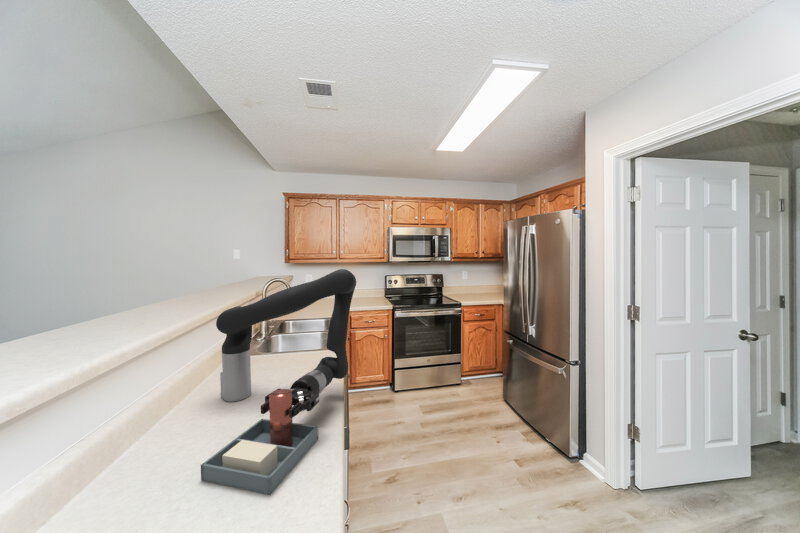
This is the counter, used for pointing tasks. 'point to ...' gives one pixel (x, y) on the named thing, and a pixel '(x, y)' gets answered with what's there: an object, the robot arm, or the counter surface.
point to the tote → (252, 481)
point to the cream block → (252, 457)
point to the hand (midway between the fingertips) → (275, 412)
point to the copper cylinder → (281, 417)
